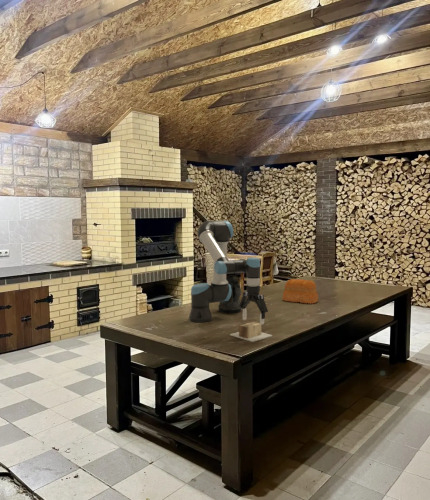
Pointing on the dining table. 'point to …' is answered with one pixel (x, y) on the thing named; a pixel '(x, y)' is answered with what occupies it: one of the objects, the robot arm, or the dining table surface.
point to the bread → (300, 291)
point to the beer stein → (232, 298)
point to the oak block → (249, 329)
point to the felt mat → (254, 338)
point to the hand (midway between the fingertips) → (253, 321)
